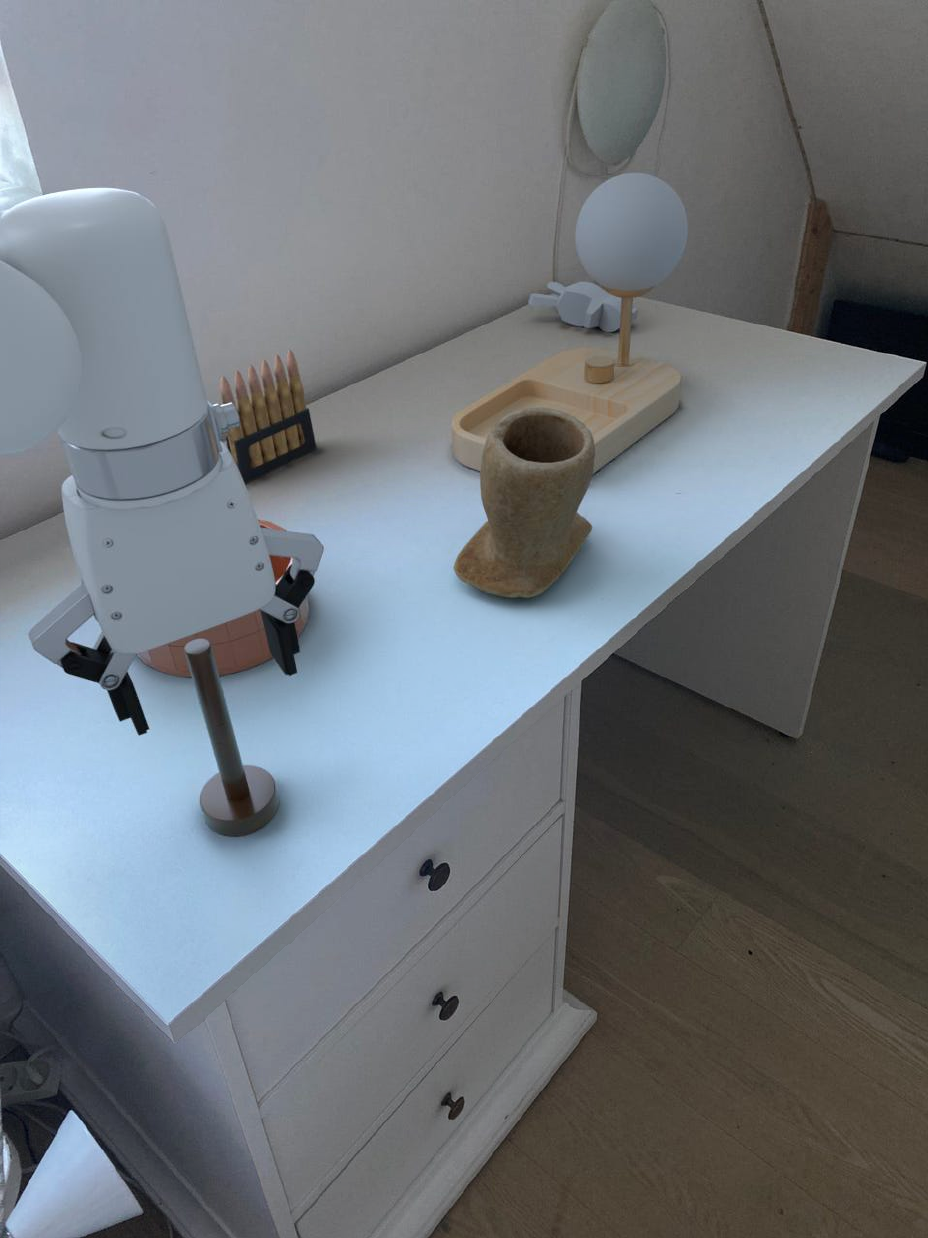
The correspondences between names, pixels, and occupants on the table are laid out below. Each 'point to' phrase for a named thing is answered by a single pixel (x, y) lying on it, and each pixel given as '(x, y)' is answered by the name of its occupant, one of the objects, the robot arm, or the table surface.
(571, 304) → the bunny figurine
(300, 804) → the table surface
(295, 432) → the ammunition clip
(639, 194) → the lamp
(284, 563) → the bowl
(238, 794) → the brown disc-based tamper
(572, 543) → the stone cup
